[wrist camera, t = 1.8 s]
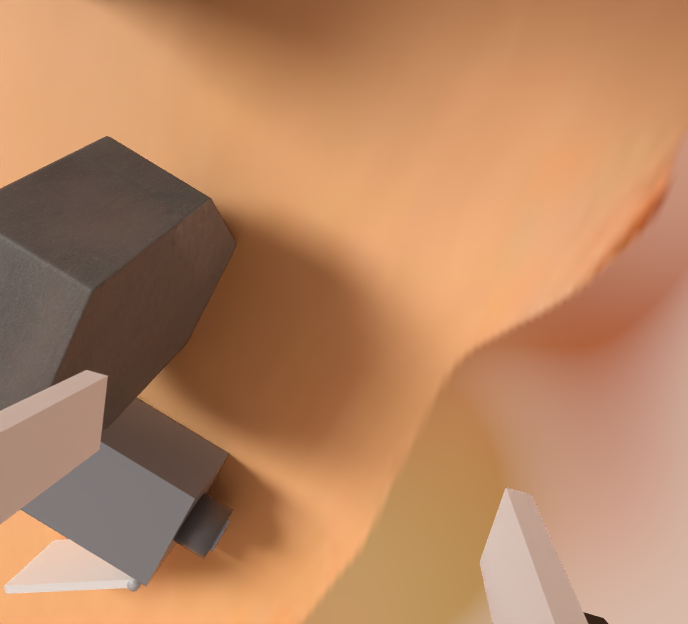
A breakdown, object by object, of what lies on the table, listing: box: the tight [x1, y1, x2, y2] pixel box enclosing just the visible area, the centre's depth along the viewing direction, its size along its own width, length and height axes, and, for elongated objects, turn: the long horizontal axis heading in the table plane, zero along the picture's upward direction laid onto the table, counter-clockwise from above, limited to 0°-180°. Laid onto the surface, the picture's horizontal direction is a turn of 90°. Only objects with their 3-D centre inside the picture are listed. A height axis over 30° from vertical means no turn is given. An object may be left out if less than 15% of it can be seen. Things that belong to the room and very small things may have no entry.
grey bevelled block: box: [0, 136, 236, 430], centre depth 31 cm, size 17×8×21 cm
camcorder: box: [20, 398, 233, 586], centre depth 40 cm, size 21×10×8 cm, turn 60°
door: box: [4, 539, 142, 594], centre depth 43 cm, size 14×2×7 cm, turn 100°
